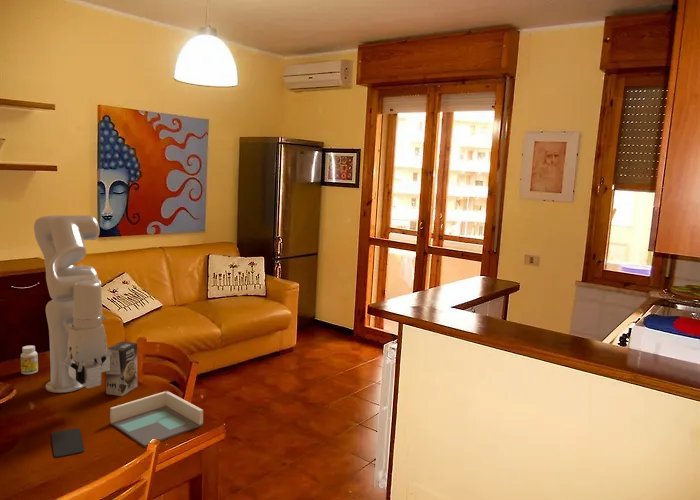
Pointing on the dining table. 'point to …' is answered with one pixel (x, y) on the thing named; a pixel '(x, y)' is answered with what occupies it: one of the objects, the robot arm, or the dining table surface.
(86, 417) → the dining table surface
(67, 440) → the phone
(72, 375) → the aluminium bracket
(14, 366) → the dining table surface
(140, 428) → the corner arena
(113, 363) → the coffee box
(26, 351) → the supplement bottle
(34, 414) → the dining table surface
